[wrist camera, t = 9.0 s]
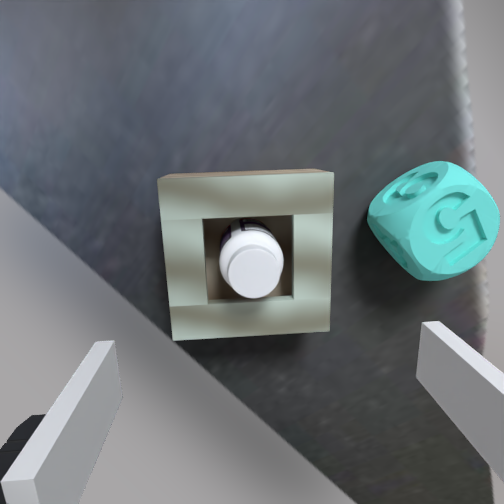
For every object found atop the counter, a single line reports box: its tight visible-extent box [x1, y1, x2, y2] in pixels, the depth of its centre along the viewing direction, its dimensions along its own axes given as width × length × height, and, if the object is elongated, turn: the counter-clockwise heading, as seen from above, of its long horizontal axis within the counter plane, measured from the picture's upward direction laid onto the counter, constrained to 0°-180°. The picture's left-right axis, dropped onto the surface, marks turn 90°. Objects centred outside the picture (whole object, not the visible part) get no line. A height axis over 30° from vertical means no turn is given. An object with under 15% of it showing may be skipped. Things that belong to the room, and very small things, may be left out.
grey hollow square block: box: [157, 169, 334, 341], centre depth 34 cm, size 14×14×7 cm
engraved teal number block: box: [367, 161, 500, 281], centre depth 34 cm, size 8×8×8 cm
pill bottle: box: [219, 218, 284, 298], centre depth 32 cm, size 5×5×10 cm
